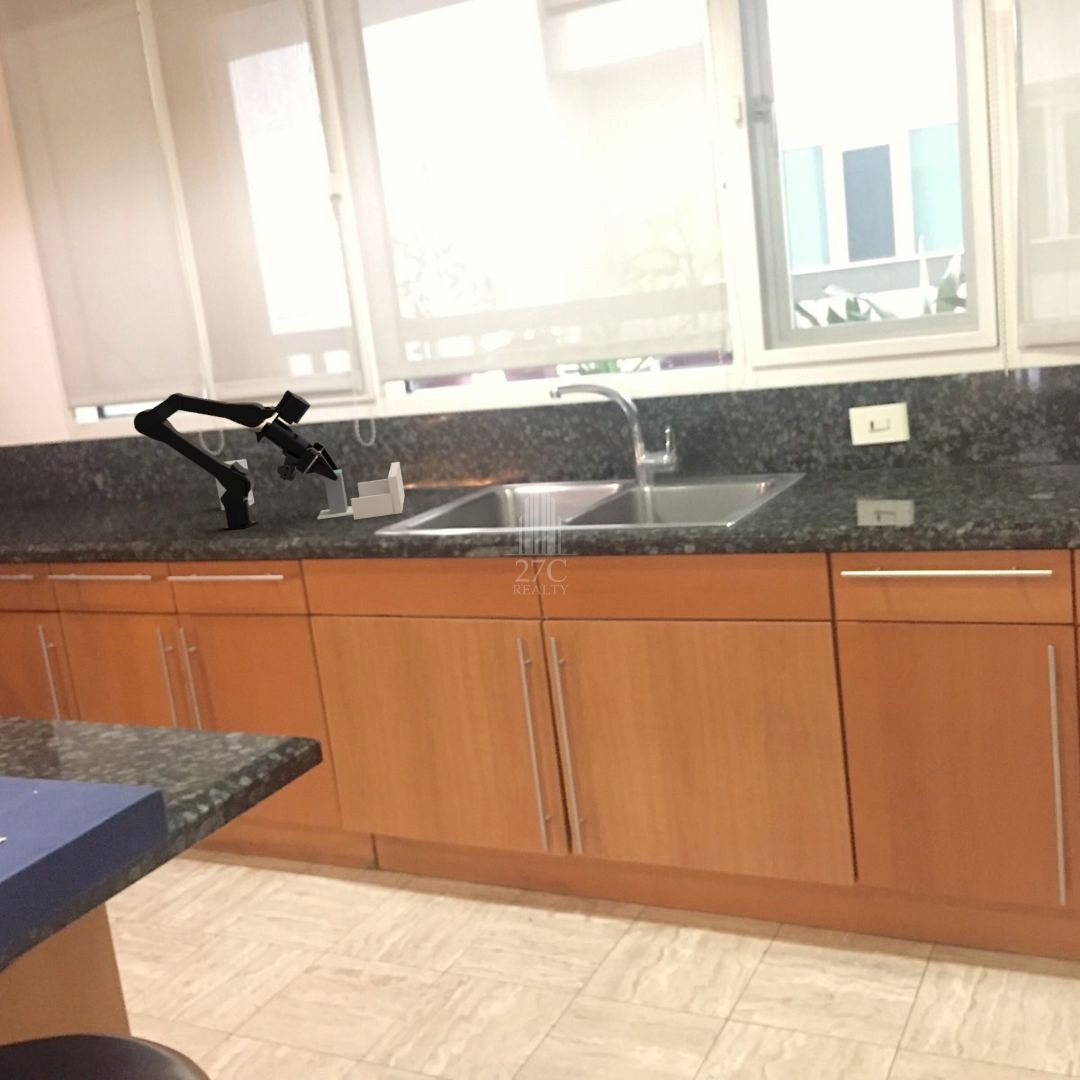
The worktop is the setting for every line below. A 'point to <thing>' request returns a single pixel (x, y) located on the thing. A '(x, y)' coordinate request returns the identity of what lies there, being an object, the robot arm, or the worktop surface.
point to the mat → (326, 514)
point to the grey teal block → (336, 494)
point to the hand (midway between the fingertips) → (338, 476)
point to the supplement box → (222, 490)
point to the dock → (380, 496)
